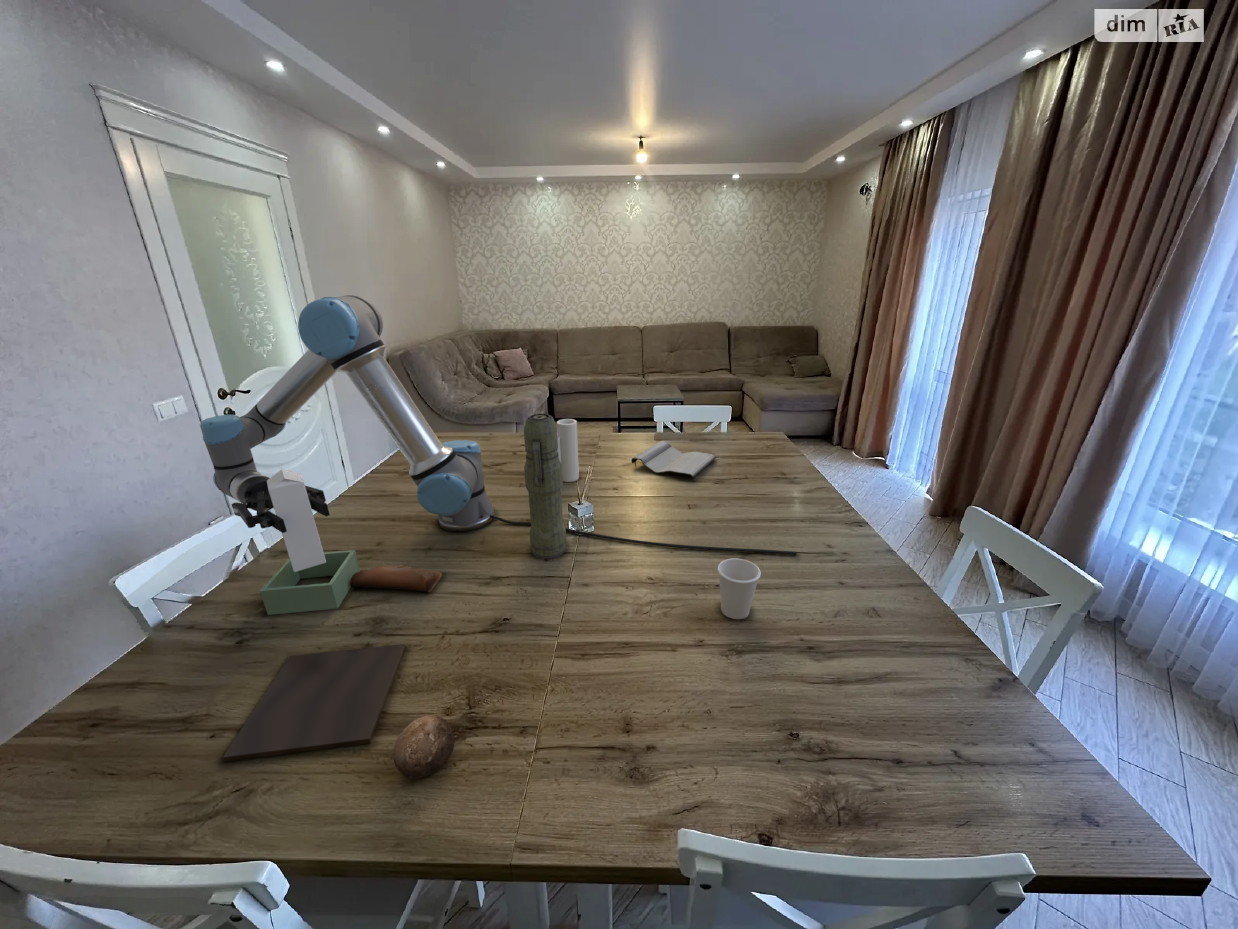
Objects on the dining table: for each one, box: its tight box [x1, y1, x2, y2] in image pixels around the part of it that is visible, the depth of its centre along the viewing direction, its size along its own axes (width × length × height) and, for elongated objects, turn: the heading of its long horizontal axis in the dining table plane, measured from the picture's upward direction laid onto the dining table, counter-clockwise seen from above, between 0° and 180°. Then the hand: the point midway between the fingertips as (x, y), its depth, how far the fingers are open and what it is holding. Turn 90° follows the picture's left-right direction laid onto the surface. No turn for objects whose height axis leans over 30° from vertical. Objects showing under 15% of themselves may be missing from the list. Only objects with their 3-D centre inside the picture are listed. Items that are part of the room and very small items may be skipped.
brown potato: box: [392, 714, 455, 780], centre depth 69 cm, size 8×8×6 cm
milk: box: [267, 463, 326, 572], centre depth 100 cm, size 6×6×22 cm
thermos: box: [523, 413, 567, 560], centre depth 116 cm, size 9×12×35 cm
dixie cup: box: [717, 557, 762, 620], centre depth 98 cm, size 8×8×10 cm
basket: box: [259, 549, 361, 616], centre depth 106 cm, size 14×14×6 cm
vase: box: [556, 418, 580, 483], centre depth 161 cm, size 11×7×20 cm, turn 93°
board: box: [222, 643, 406, 763], centre depth 80 cm, size 20×20×1 cm
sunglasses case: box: [350, 564, 443, 593], centre depth 109 cm, size 18×7×7 cm
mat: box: [631, 440, 718, 479], centre depth 175 cm, size 23×24×5 cm
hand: (305, 517), depth 97 cm, fingers closed on milk, 7 cm apart
